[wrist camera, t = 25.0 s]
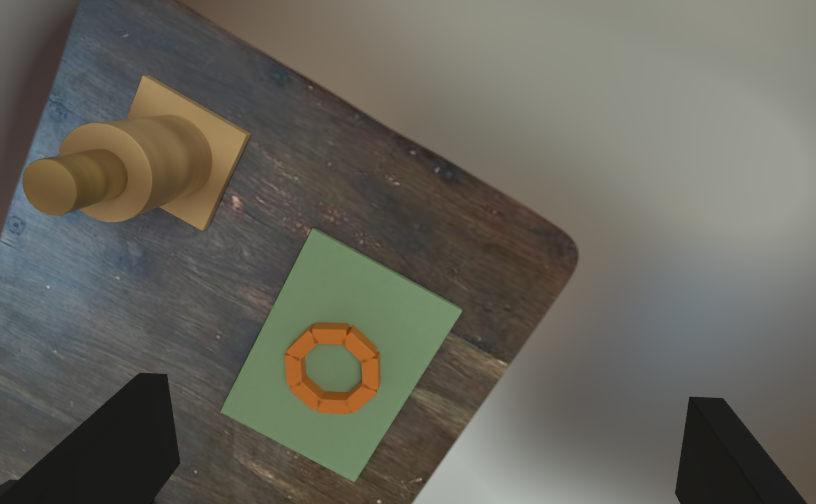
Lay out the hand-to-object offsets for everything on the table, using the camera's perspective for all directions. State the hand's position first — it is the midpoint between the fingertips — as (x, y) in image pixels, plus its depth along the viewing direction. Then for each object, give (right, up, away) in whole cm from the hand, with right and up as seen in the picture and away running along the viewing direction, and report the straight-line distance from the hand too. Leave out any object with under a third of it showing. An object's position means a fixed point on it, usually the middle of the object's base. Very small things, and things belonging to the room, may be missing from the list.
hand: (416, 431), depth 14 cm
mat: (-7, -5, +36) cm, 36 cm away
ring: (-7, -5, +34) cm, 35 cm away
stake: (-19, +12, +32) cm, 39 cm away
